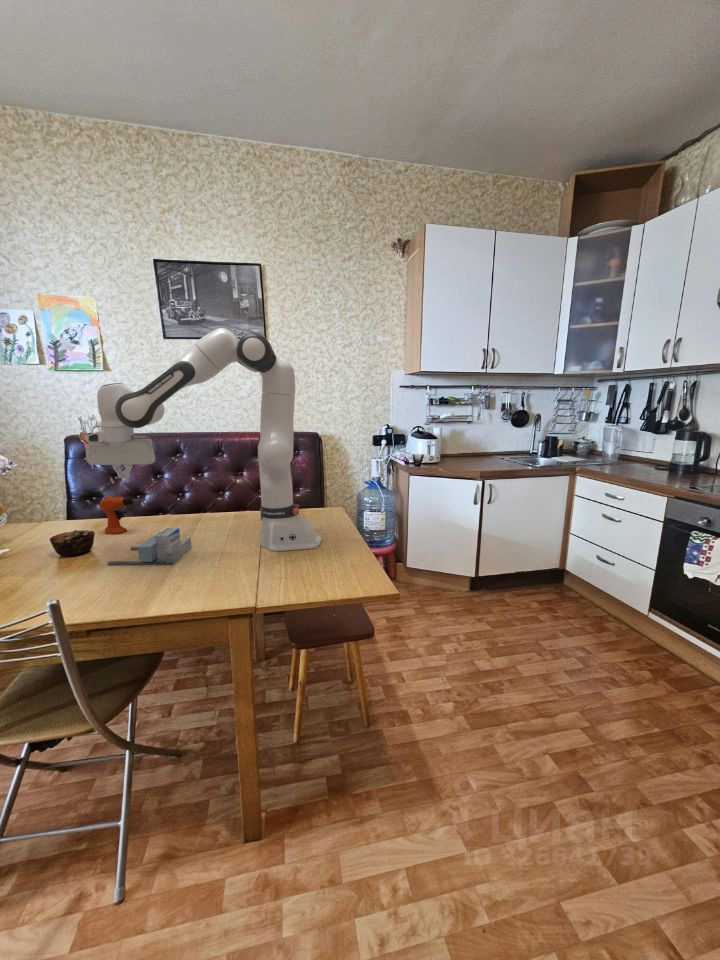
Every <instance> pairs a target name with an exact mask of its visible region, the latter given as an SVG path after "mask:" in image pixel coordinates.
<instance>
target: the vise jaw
mask: <svg viewBox="0 0 720 960" xmlns="http://www.w3.org/2000/svg"><path fill="white" fill-rule="evenodd" d="M161 532H162V531H159V532H158V533H156V534H154V535H152V536H151V537H150V538H148V539H147V540H145V541H144V542H142V543H141V544H140V545H138V550H137V553H138V561H139V562H152V561H156V559H158V558H157V549H156V540H155V536H156V535H158V534H159V533H161Z"/></svg>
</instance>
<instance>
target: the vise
mask: <svg viewBox="0 0 720 960" xmlns="http://www.w3.org/2000/svg"><path fill="white" fill-rule="evenodd" d="M138 546H139V545H138ZM138 546H137V545H136V546H131V547H130V548H129V549H130V551H138ZM191 548H192V539H191V537H184V538H183V539H180V542H179V543H177V544H176V545H175V546H174V547H172V548H171V549H170V550H169V551H167V552H166V553H165V556H166V561H158V560H154V561H152V562H139V560H111V561H108V562H107V566H174V565H175V564H176V563H177V562H178V561H179V560H180V559H182V558H183V557H184V556H185V555H186V554H188V552H189V551H191V550H192V549H191ZM185 553H186V554H185ZM184 554H185V555H184ZM183 555H184V556H183ZM182 556H183V557H182Z"/></svg>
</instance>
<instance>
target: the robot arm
mask: <svg viewBox="0 0 720 960" xmlns="http://www.w3.org/2000/svg"><path fill="white" fill-rule="evenodd" d="M277 358H278V357H277V356H276V353H275V351H274V349H273V347H272V345H271V343H270V341H269V340H268V339H267V338H266V337H265V336H264V335H263V334H260V333H257V332H248V333H246V334H244V335H242V336H241V338H238V337H237V336H236V335H235V334H234V333H233V331H231V330H229V329H227V328H224V327H219V328H216V329H214V330H212V331H210V332H209V333H207V334H205V335H204V336H202V337H201V338H199V339H198V340H197V341H196V342H195V343H193V344H192V345H191V346H189V347H188V349H187V350H185V352H183V354H182V355H181V356H179V358H178V359H177V360H176V361H175V362H174V363H173V364H172V365H171V366H170V367H169V368H168V369H167V370H166V371H164V372H163V373H161V374H160V375H159V376H157V377H156V378H155V379H154V380H152V381H151V382H149V383H148V384H147V385H146V386H145V387H143V388H141V389H140V390H136V389H133V388H132V387H130V386H128V385H126V384H125V383H122V382H116V383H115V382H114V383H106V384H103V385H101V386H99V388H98V390H97V393H96V394H97V396H96V397H97V398H96V399H97V410H98V414H99V417H100V430H99V431H96V432H93V433H91V434H88V435H85V441H86V443H87V444H86V446H85V458H86V462H87V463H88V464H89V465H90V466H101V465H102V466H103V465H104V466H107V465H108V466H109V465H110V466H112V469H113V470H114V471H115V473H116V474H117V478H118V479H129V478H131V473H130V472H131V470H132V469H133V465H151V464H154V462H155V461H156V455H155V452H154V448H153V446H154V445H153V440H152V438H151V437H149V436H148V435H144V434H143V435H135V430H134V429H140V428H144V427H145V426H149V425H153V424H156V423H157V422H159V421H161V420H162V418H163V417H164V414H165V407H164V403H165V402H167V400H168V399H170V398H172V396H174V395H175V394H176V393H178V392H179V391H181V390H182V389H184V388H187V387H190V386H194V385H199V384H202V383H205V382H207V381H209V380H211V379H212V378H214V377H215V376H217V374H219V373H221V372H222V371H223V370H224V369H225V368H227V367H228V366H229V365H231V364H233V363H238V364H239V365H241V366H243V367H244V368H245V369H247V370H249V371H251V372H254V373H259V374H260V375H261V381H262V388H261V402H260V428H259V429H260V431H259V432H260V436H259V442H258V445H257V455H258V457H257V458H258V459H257V460H258V472H259V483H260V499H261V505H260V510H259V512H260V513H259V514H260V521H261V530H260V537H259V541H258V544H259V546H261V547H263V548H265V549H268V550H269V551H270V552H282V551H283V552H284V551H295V550H308V549H309V550H310V549H311V550H312V549H316V548H317V547H319V546H320V545H321V544H322V535H321V534H320V533H319V532H316V529H315V525H314V523H313V522H312V521H311V520H310V519H308V518H306V517H305V516H304V515H302V514H301V513H300V507H299V505H300V504H295V503H294V495H293V494H294V493H293V492H294V491H293V479H292V471H291V462H292V461H293V457H294V439H295V438H294V411H295V400H296V399H295V398H296V397H295V396H296V377H295V369H294V368H293V365H292V364H291V363H289V362H287V361H284V360H282V359H281V360H280V359H277ZM122 465H123V466H124V469H125V471H122V469H121V467H122Z"/></svg>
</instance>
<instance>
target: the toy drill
mask: <svg viewBox="0 0 720 960" xmlns="http://www.w3.org/2000/svg"><path fill="white" fill-rule="evenodd" d="M145 501H146V498H138V499H137V498H135V499H134V498H133V497H123V496H117V497H115V496H105V497H103V498H102V499H101V500H100V502H99V504H98V505H99V508H100V510H101V511H103V512H104V513H105V514H106V517H107V526H106V527H105V529H104V533H105V534H106V535H122V534H125V533H126V532H127V528H126V527H124V526H121V522H120V520H121V519H123V515H121V514H120V512H119V511H117V510H120V509H123V508H125V507H127V506H130V505H133V504H134V503H138V502H145ZM124 532H125V533H124ZM121 533H122V534H121Z"/></svg>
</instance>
